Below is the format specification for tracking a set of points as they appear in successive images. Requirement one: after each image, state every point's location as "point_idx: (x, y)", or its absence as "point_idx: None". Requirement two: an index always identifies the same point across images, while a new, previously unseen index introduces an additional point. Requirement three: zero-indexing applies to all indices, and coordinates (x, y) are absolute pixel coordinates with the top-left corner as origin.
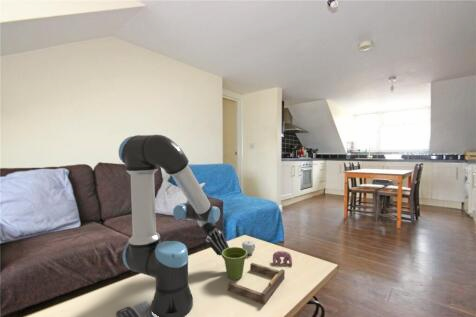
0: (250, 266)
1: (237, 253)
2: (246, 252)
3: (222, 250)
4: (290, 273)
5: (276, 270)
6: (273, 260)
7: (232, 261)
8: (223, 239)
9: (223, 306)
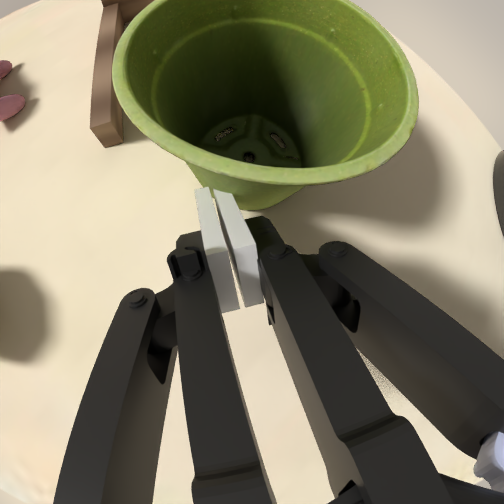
0: (116, 130)
1: (160, 124)
2: None
3: (293, 264)
4: (64, 33)
5: (107, 16)
6: (8, 101)
7: (351, 41)
8: (122, 437)
9: (422, 77)
